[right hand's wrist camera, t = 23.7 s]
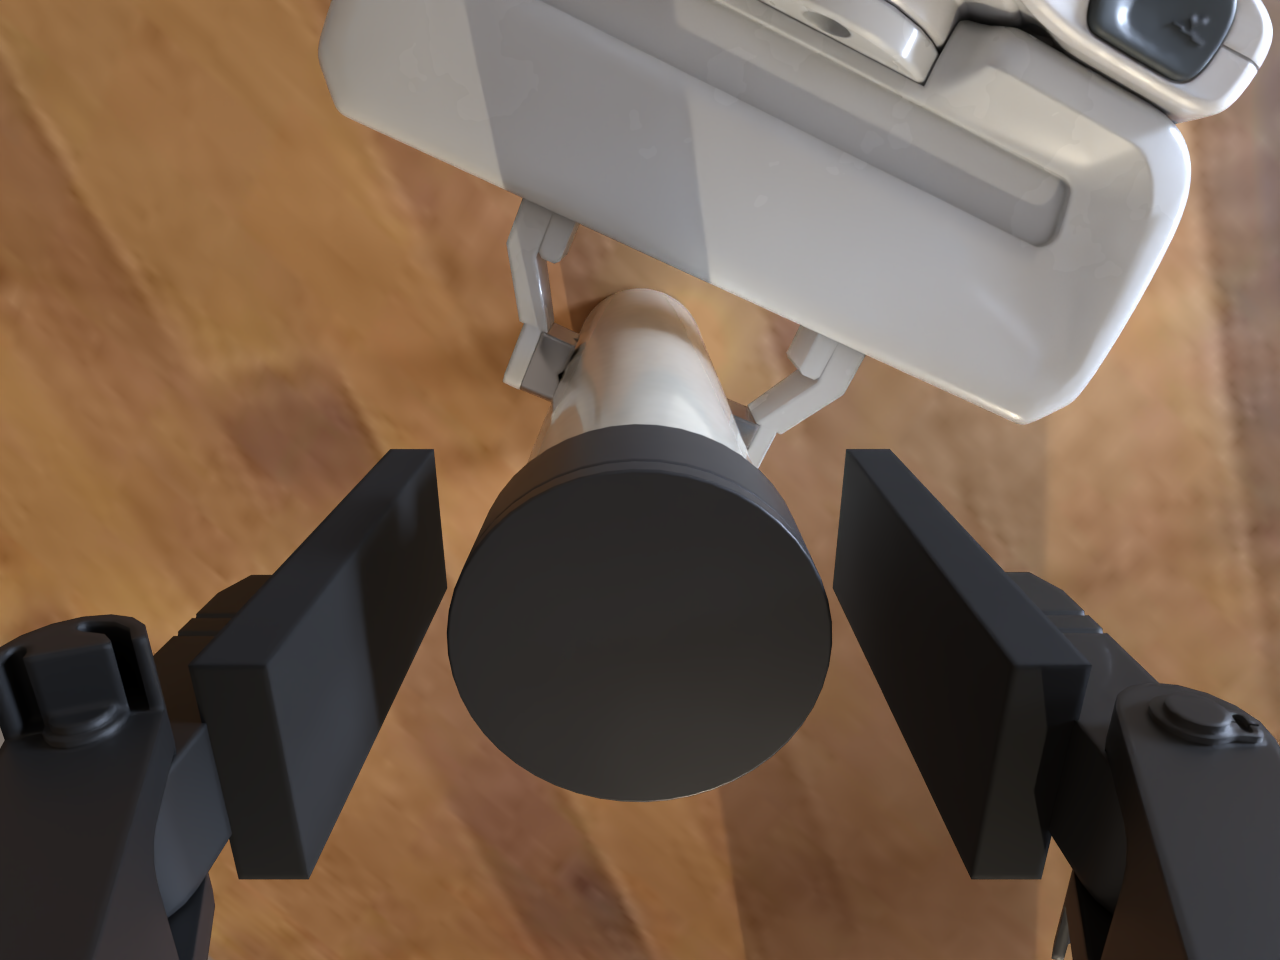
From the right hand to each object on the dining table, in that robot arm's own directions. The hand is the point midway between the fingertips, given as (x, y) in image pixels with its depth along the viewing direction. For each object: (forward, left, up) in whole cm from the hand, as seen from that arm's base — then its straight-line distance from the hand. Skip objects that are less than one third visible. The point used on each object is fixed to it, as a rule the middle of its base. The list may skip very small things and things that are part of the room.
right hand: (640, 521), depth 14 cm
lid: (0, 0, +4) cm, 4 cm away
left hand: (0, +1, -8) cm, 8 cm away
